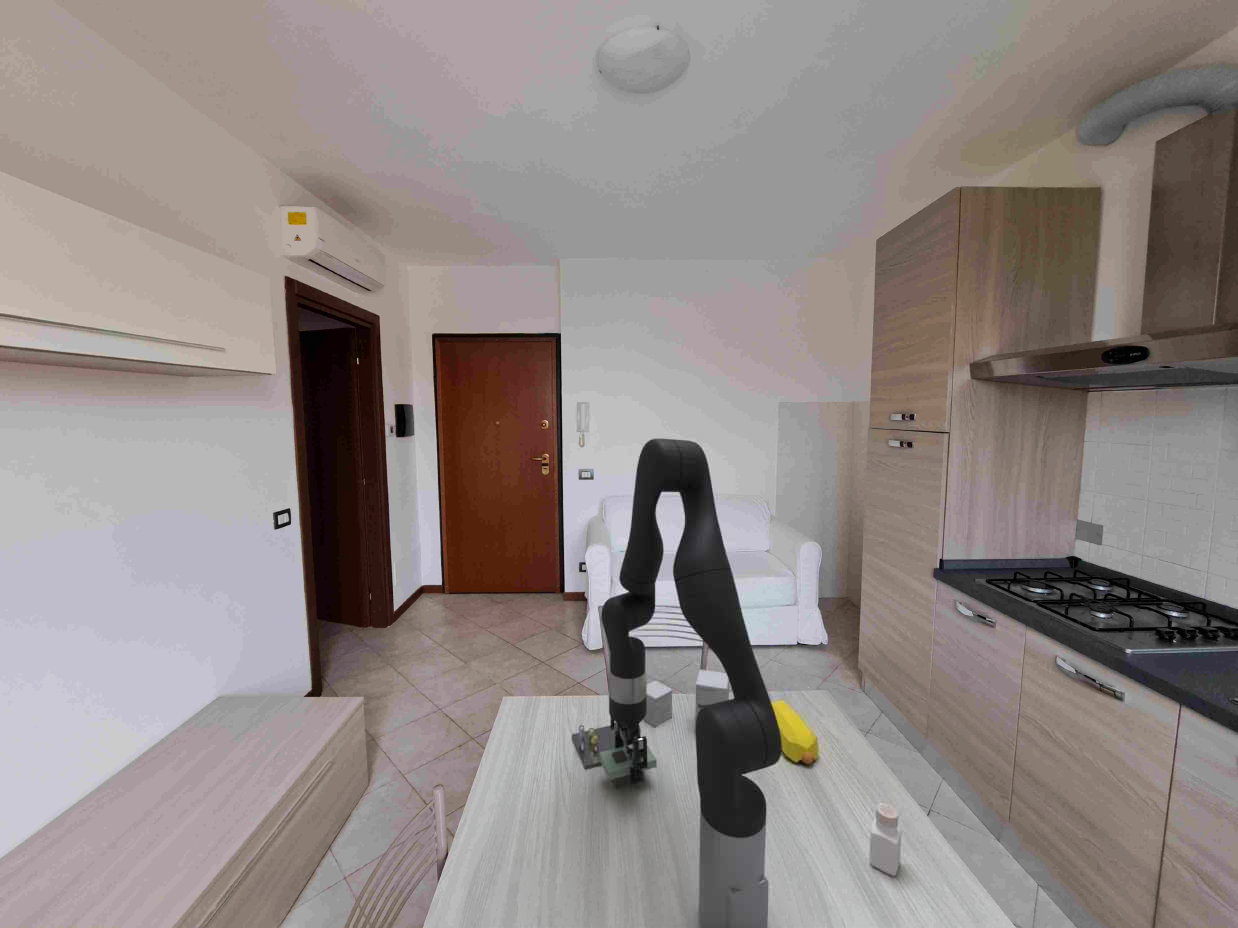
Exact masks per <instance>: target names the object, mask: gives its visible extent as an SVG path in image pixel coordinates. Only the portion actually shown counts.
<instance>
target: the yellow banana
mask: <svg viewBox="0 0 1238 928" xmlns="http://www.w3.org/2000/svg"><path fill="white" fill-rule="evenodd" d="M771 704H772V707H773V709H774V712H775V716H776V719H777V722H778V726H779V730H780V735H781V743H782V752H783V753H784V755H785V756H786V757H787V758H788V759H790V760H791V761H792V762H795V763H798V762H799V761H801V762H803V763H805V764H806V765H810V764H812V763H813V761H814V760H818V759H817V758H818V756H819V755H818V754H819V751H820V750H819V743H818V737H817V736H816V734H815V733H814V732H813V730H812V729H811V728H810V727H809V726H808V724H807V723H806V722H805V720H804V719H803V718H802V717H801V716H800V715H799V714H798V713H797V712H796V711H795V710H794V709H793V708H791V706H790V705H789V704H787V702H786V701H784V700H783V699H782V700H781V699H780V700H778V701H771Z"/></svg>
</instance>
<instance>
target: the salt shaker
mask: <svg viewBox="0 0 1238 928" xmlns="http://www.w3.org/2000/svg"><path fill="white" fill-rule="evenodd" d="M875 809H876V810H875V818H874V820H873V822H872V825H871V828H870V837H869V854H868V855H869V858H868V860H869V864H870V865H871V866H873V867H874V868H876V869H878V870H880V871H881V872H883V873H886V874H887V875H890V876H892V877H895V876H896V875H897V873H898V869H899V866H900V862H901V847H902V829H901V828H900V827H899V811H898V810H897V809H896V808H895V807H894V806H893V805H890V804H888V803H886V802H880V803H878V804H877V805H876V808H875Z"/></svg>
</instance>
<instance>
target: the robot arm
mask: <svg viewBox="0 0 1238 928" xmlns="http://www.w3.org/2000/svg"><path fill="white" fill-rule="evenodd" d="M708 462H709V461H708V459H707V456H706V453H705V451H704V450H703V448H702V447H701V445H700V444H698V443H697V442H696V441H695V442H694V441H692V440H686V439H673V438H672V439H671V438H652V439H649V440H648V441H647V442H646V443H645V444H644V445H643V447H642V449H641V451H640V454H639V457H638V461H637V466H636V473H635V480H634V481H635V482H634V492H633V498H632V499H633V500H632V511H631V519H630V521H631V523H630V530H629V535H628V541H627V545H626V549H625V551H624V552H625V553H624V557H623V560H622V563H621V566H620V567H621V568H620V572H619V578H618V579H619V583H620V585H621V587H622V588H623V589H625V590H626V591H627V592H625V593H621V594H619V595H615V596H612V597H610V598H608V599H607V600H606V601H605V602H604V603H603V606H602V608H601V612H600V613H601V615H600V617H601V618H600V619H601V623H602V627H603V631H604V633H605V637H606V642H607V645H608V649H609V676H608V677H609V679H608V713H609V716H610V720H609V721H610V723H609V724H610V725H609V726H610V728H611V730H614V731H613V736H614V738H615V749H616V748H620V747H624V749H625V753H626V754H628V756H629V761H630V782H631V784H632V786H635V785H634V784H636V785H638V784H637V783H639V784H641V783H640V782H641V781H642V769H644V768H647V767H648V765H647V746H648V738H647V737H646V735H643V736H641V735H642V730H641V725H640V723H641V722H642V721H643V719H644V718H645V716H646V713H647V684H648V681H647V680H648V679H647V673H646V647H645V643H644V642H643V640H641V639H640V638H638V637H635V636H630V632H631V631H633V630H636V629H638V628H641V627H643V626H646V625H647V624H648V623H649V622H650V621H651V620H652V618H653V617H654V614H655V611H656V582H657V578H658V576H659V573H660V570H661V566H662V562H663V558H664V540H663V537H662V534H661V530H660V528H659V524H658V520H657V505H658V502H659V500H660V496H661V494H662V493H679V495H680V498H681V502H682V507H683V513H684V526H683V531H682V535H681V538H680V541H679V544H678V547H677V550H676V553H675V557H674V560H673V566H672V574H673V575H672V576H673V580H674V585H675V588H676V594H677V599H678V603H679V606H680V610H681V613H682V614H683V617H684V618H685V620H686V622H687V623H688V625H689V626H690V627H691V628H692V629H693V631H694V632H695V633H696V634H697V635H698V636H699V637H700V638H701V640H702V641H703V642H704V643H705V645H707V647H708V648H709V649H710V650H711V651H712V652H713V654H714V655H715V656H716V658H717V659H718V660H719V662H720V663H721V665H722V667H723V669H724V671H725V673H726V674H727V676H728V679H729V686H730V688H731V691H732V695H733V698H731V699H729V700H726V701H722V702H718V703H714V704H709V705H706V706H704V707H702V708H701V709H700V711H699V713H698V715H697V719H696V735H695V749H696V750H695V751H696V776H697V777H696V778H697V779H696V780H697V786H698V787H697V788H698V793H699V799H700V801H699V804H700V805H699V806H700V807H699V808H700V811H699V814H700V815H699V816H700V817H699V859H698V860H699V861H698V862H699V864H698V865H699V868H698V869H699V873H698V874H699V875H698V877H699V878H698V918H699V920H698V921H699V924H700V927H701V928H768V920H769V912H768V911H769V887H770V886H769V885H770V883H769V881H768V879H767V878H766V876H765V873H766V872H765V869H766V867H765V866H766V840H767V839H766V837H767V836H766V835H767V801H766V798H765V794H764V792H763V791H762V788H760V786H758V784H757V783H756V782H755V781H753V780H752V779H750V778H749V777H747V776H746V774H750V773H753V772H755V771H759V770H763V769H766V768H769V767H772V766H773V765H776V764H777V763H778V762H779V761H780V758H781V755H782V752H783V750H782V743H781V735H780V730H779V726H778V722H777V719H776V716H775V712H774V709H773V707H772V704H771V702H772V701H771V697H770V695H769V693H768V690H767V688H766V685H765V682H764V679H763V676H762V673H761V671H760V668H759V665H758V662H757V660H756V656H755V653H754V650H753V647H752V644H751V640H750V637H749V633H748V630H747V627H746V623H745V619H744V615H743V612H742V606H741V601H740V599H739V594H738V590H737V586H736V583H735V578H734V575H733V574H734V573H733V571H732V568H731V564H730V562H729V558H728V554H727V552H726V547H725V544H724V540H723V535H722V531H721V527H720V523H719V519H718V514H717V513H718V512H717V510H716V504H715V503H716V502H715V497H714V492H713V491H714V490H713V485H712V478H711V473H710V467H709V464H708ZM628 745H632V746H633V748H631V749H630V748H629V747H628ZM632 753H633V755H632Z"/></svg>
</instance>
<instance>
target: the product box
mask: <svg viewBox="0 0 1238 928" xmlns="http://www.w3.org/2000/svg"><path fill="white" fill-rule="evenodd" d="M672 717H673V689H672V688H670V687H668V686H666V685H665V684H664V683H663V684H662V683H661V682H659V681H657V680H654V681H651V682H649V683H647V713H646V716H645V718H644V719H643V720H644V721H645V722H646V723H648V724H650V725H652V726H653V727H654V728H655V727H657V726H660V725H661V724H662V723H665V722H666V721H668V720H670V719H671V718H672ZM643 720H642V721H643Z"/></svg>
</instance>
